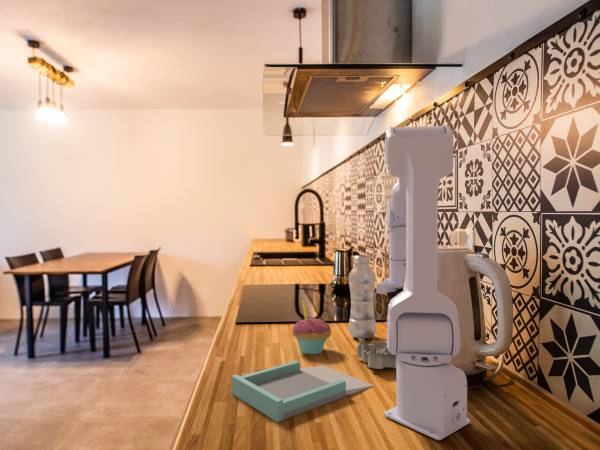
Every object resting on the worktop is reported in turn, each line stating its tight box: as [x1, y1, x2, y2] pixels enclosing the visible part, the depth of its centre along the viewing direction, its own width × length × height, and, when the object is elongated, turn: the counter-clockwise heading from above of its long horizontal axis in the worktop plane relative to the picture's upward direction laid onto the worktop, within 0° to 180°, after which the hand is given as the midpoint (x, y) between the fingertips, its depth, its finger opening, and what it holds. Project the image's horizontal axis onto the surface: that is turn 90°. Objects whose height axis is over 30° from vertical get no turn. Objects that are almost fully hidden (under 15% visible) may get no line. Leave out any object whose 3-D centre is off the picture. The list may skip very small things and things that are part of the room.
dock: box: [230, 360, 375, 423], centre depth 73 cm, size 13×21×4 cm, turn 129°
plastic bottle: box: [347, 254, 377, 340], centre depth 104 cm, size 6×7×20 cm
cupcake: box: [291, 297, 332, 355], centre depth 94 cm, size 9×8×12 cm
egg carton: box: [356, 335, 397, 370], centre depth 85 cm, size 11×8×4 cm
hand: (402, 323), depth 90 cm, fingers closed
